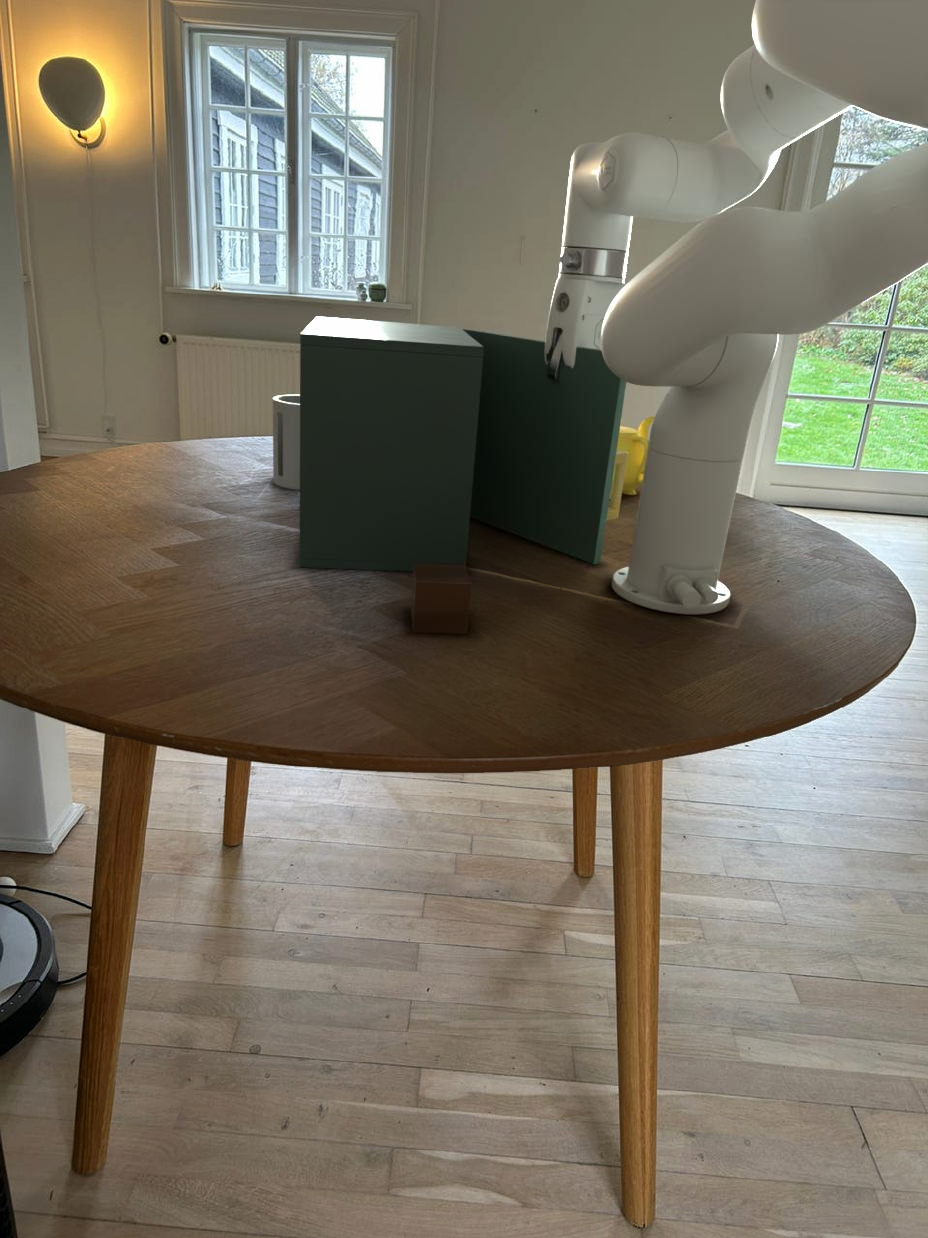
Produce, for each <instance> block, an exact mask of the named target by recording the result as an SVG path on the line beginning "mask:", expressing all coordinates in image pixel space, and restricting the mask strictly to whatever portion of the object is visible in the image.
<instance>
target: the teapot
mask: <svg viewBox="0 0 928 1238" xmlns="http://www.w3.org/2000/svg"><path fill="white" fill-rule="evenodd" d="M654 418H655V416H654V415H653V416H649V417H646V418H645V419H643V420H642V422H641V423H640V425H639V427H638V428H637V429H636V428H632V427H629V426H624V425H622V424H623V421H624V419H623V418H621V424H620V431H619V438H618V444H617V451H616V452H618V451H625V452H628V456H627V463H626V469H625V476H624V483H623V489H622V494H623V495H629V496H635V495H637V492H636V491H635V489H638V488H639V487H640V486H642V480H643V474H644V468H645V462H646V455H647V450H648V444H649V439H648V438H649V437H648V436H649V435H648V434H649V430H650V426H651V425H652V424H653V421H654ZM615 467H616V464H615V465H614V472H613V478H612V485H611V492H610V499H609V500H611V495H612V488H613V481H614V474H615Z"/></svg>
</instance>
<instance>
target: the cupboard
mask: <svg viewBox="0 0 928 1238" xmlns="http://www.w3.org/2000/svg"><path fill="white" fill-rule="evenodd" d="M483 352H484V347H483V346H482V345H481V344H479V343H478V342H477V341H476V340H474V339H473V338H472V337H471V336H469V335H468V334H467V333H466V332H464V331H463V328H461V327H460V326H448V325H438V324H437V325H436V324H422V323H421V324H420V323H409V322H408V323H407V322H395V321H382V320H381V321H380V320H369V319H368V320H367V319H356V318H340V317H329V316H328V317H327V316H315V317H314V319H313V320H312V321H311V322H310V323H309V324H308V325H306V327H305V328H304V329H303V330H302V331H301V332H300V333H299V375H300V376H299V395H300V490H299V568H309V569H310V568H312V569H337V570H360V571H385V572H386V571H387V572H388V571H389V572H409V573H410V572H411V573H413V564H414V563H418V564H443V565H465V566H466V567H467V557H468V556H467V555H468V545H469V534H470V533H469V532H470V522H471V521H470V520H471V519H470V518H471V517H470V509H471V497H472V485H473V473H474V461H475V449H476V437H477V425H478V412H479V400H480V388H481V376H482V364H483Z"/></svg>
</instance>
